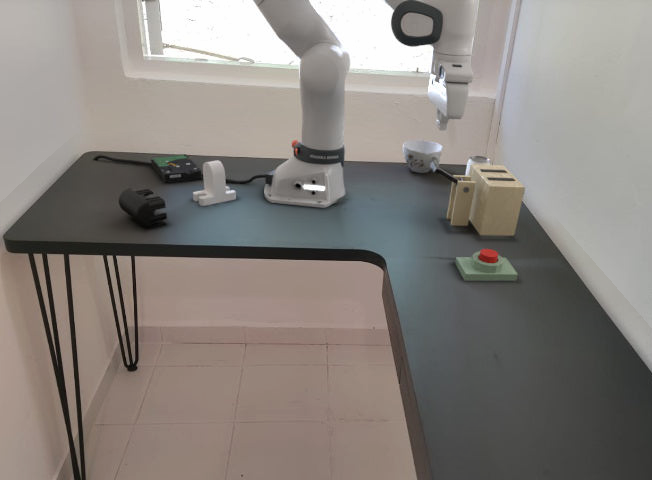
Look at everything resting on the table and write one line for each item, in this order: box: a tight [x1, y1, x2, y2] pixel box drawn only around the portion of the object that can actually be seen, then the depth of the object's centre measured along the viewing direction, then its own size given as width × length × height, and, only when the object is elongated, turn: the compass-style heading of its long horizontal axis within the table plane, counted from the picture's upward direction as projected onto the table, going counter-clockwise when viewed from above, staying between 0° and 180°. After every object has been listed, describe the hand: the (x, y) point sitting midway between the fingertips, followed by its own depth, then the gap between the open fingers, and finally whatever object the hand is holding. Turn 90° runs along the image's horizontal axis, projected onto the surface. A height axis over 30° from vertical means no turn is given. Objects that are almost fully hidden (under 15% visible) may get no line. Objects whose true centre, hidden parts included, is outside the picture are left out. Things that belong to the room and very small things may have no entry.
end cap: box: [118, 187, 168, 229], centre depth 138 cm, size 10×7×7 cm
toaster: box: [469, 164, 526, 237], centre depth 152 cm, size 9×16×14 cm, turn 9°
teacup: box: [402, 139, 444, 174], centre depth 187 cm, size 15×12×8 cm
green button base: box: [454, 250, 519, 282], centre depth 133 cm, size 12×8×4 cm, turn 99°
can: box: [464, 155, 491, 176], centre depth 169 cm, size 6×6×12 cm
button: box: [479, 248, 499, 263], centre depth 132 cm, size 4×4×2 cm
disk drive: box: [150, 154, 203, 183], centre depth 168 cm, size 10×3×15 cm
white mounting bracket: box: [192, 159, 237, 207], centre depth 153 cm, size 5×10×10 cm, turn 131°
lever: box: [430, 162, 465, 187], centre depth 147 cm, size 11×5×2 cm, turn 99°
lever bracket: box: [446, 174, 476, 227], centre depth 151 cm, size 6×8×13 cm
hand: (441, 128), depth 140 cm, fingers closed
